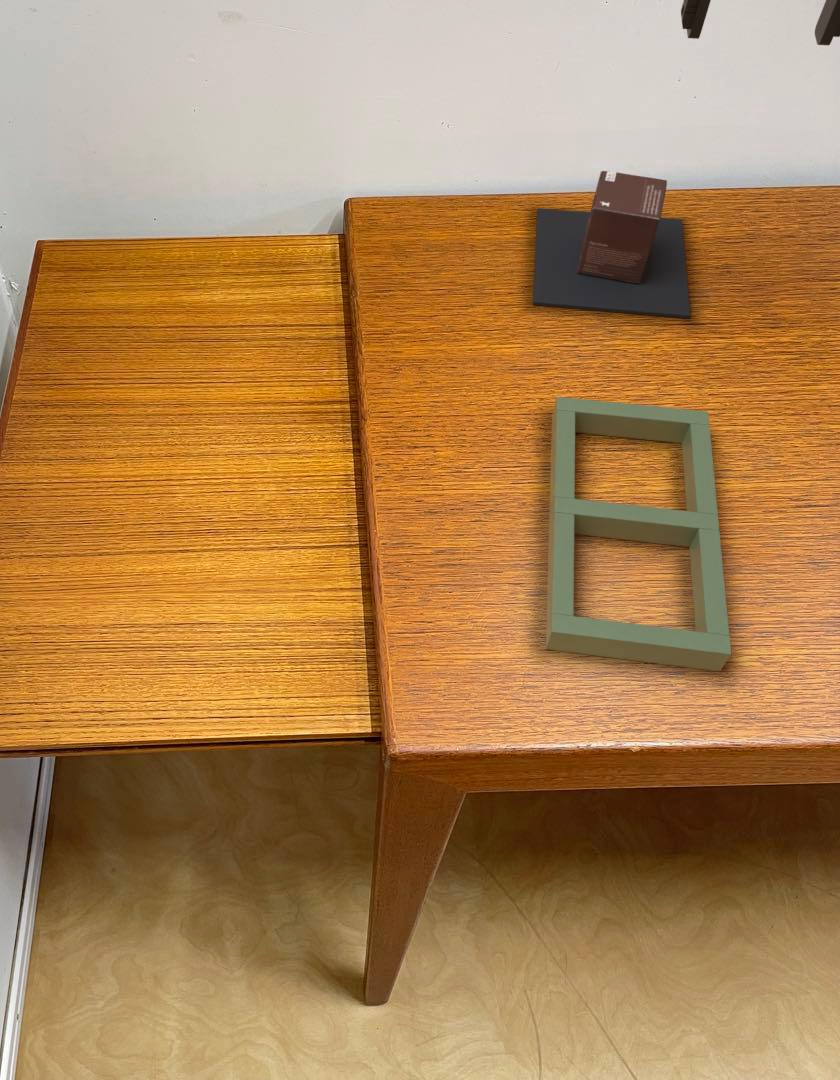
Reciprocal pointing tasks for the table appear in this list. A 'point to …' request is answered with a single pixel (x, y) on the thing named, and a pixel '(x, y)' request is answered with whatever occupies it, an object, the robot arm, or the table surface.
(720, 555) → the rack
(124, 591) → the table surface
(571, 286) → the mat
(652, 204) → the box
